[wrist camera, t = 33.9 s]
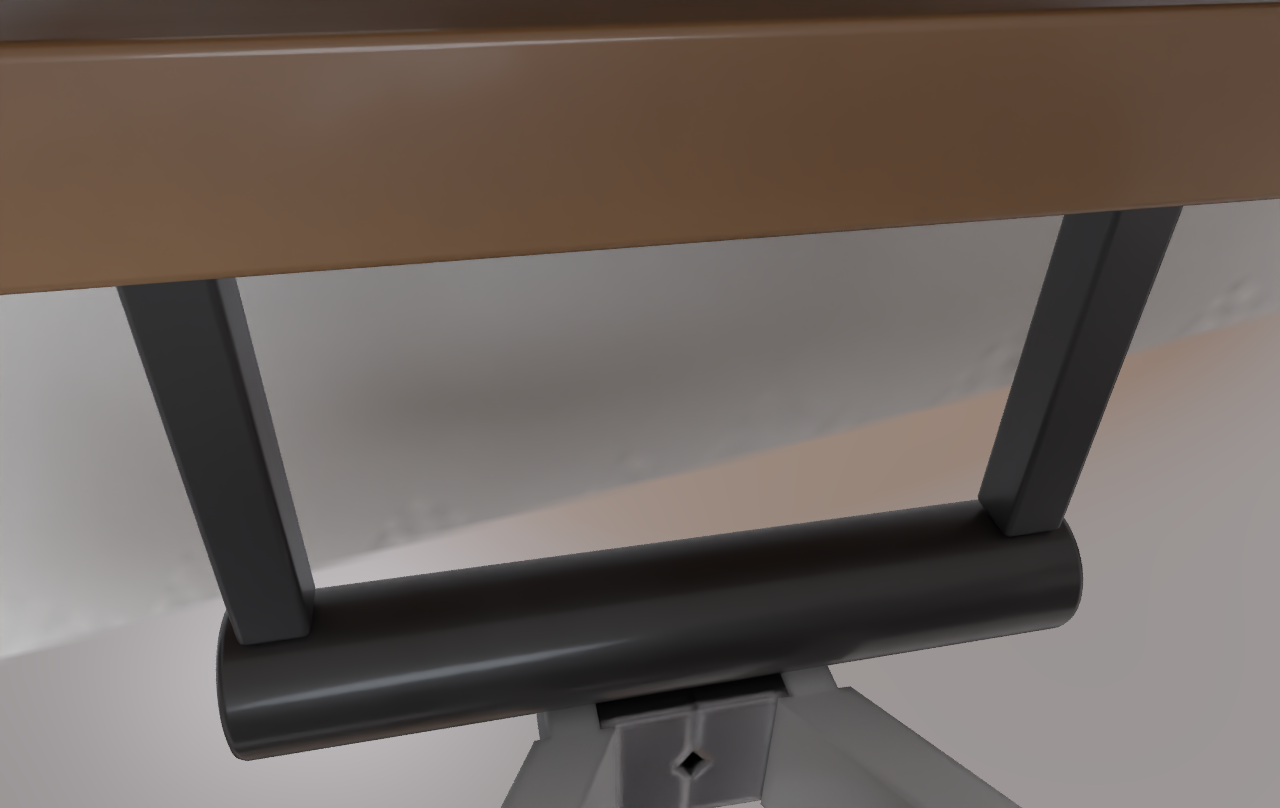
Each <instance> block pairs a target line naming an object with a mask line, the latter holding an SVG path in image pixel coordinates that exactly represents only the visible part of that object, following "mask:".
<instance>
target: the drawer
mask: <svg viewBox="0 0 1280 808" xmlns="http://www.w3.org/2000/svg"><path fill="white" fill-rule="evenodd" d="M1268 199H1280V0H0V295H7V294H21V293H34V292H47V291H61V290H74V289H87V288H100V287H114V286H116V288H117V291H118V294H119V297H120V300H121V303H122V306H123V309H124V312H125V315H126V318H127V320H128V323H129V326H130V329H131V332H132V335H133V338H134V341H135V344H136V347H137V350H138V353H139V355H140V358H141V361H142V364H143V367H144V370H145V373H146V376H147V379H148V382H149V385H150V388H151V390H152V393H153V396H154V399H155V402H156V405H157V408H158V411H159V414H160V417H161V420H162V423H163V426H164V428H165V431H166V434H167V437H168V440H169V443H170V446H171V449H172V452H173V455H174V458H175V461H176V463H177V466H178V469H179V472H180V475H181V478H182V481H183V484H184V487H185V490H186V493H187V496H188V498H189V501H190V504H191V507H192V510H193V513H194V516H195V519H196V522H197V525H198V528H199V531H200V534H201V536H202V539H203V542H204V545H205V548H206V551H207V554H208V557H209V560H210V563H211V566H212V569H213V571H214V574H215V577H216V580H217V583H218V586H219V589H220V592H221V595H222V598H223V601H224V604H225V606H226V612H225V614H224V617H223V620H222V624H221V628H220V632H219V638H218V645H217V658H216V682H217V683H216V684H217V697H218V706H219V713H220V719H221V723H222V727H223V731H224V734H225V737H226V740H227V743H228V745H229V747H230V749H231V751H232V753H233V754H234V756H235V757H236V758H238V759H241V760H245V761H249V760H256V759H262V758H268V757H274V756H281V755H287V754H292V753H299V752H304V751H310V750H317V749H323V748H329V747H335V746H341V745H347V744H353V743H359V742H366V741H372V740H378V739H384V738H390V737H396V736H402V735H408V734H414V733H420V732H426V731H432V730H438V729H444V728H450V727H457V726H463V725H469V724H475V723H481V722H487V721H493V720H499V719H505V718H510V717H517V716H523V715H529V714H535V713H541V712H548V711H554V710H560V709H566V708H572V707H578V706H584V705H590V704H596V703H602V702H608V701H614V700H620V699H626V698H632V697H639V696H645V695H651V694H657V693H663V692H669V691H675V690H681V689H687V688H693V687H699V686H705V685H711V684H717V683H723V682H730V681H736V680H742V679H748V678H754V677H760V676H766V675H772V674H778V673H784V672H790V671H796V670H802V669H808V668H814V667H821V666H827V665H833V664H839V663H844V662H851V661H857V660H863V659H869V658H875V657H881V656H887V655H893V654H899V653H905V652H911V651H918V650H923V649H930V648H936V647H942V646H948V645H954V644H960V643H966V642H972V641H978V640H984V639H990V638H996V637H1003V636H1009V635H1015V634H1021V633H1027V632H1033V631H1039V630H1045V629H1051V628H1056V627H1059V626H1061V625H1063V624H1065V623H1066V622H1067V621H1068V620H1070V619H1071V618H1072V616H1073V615H1074V614H1075V612H1076V611H1077V609H1078V606H1079V603H1080V600H1081V596H1082V589H1083V572H1082V563H1081V557H1080V553H1079V549H1078V546H1077V543H1076V540H1075V538H1074V536H1073V533H1072V531H1071V529H1070V527H1069V525H1068V523H1067V522H1066V520H1065V519H1064V515H1065V513H1066V510H1067V507H1068V505H1069V502H1070V500H1071V497H1072V494H1073V492H1074V489H1075V487H1076V484H1077V481H1078V479H1079V476H1080V473H1081V471H1082V468H1083V466H1084V463H1085V461H1086V458H1087V455H1088V453H1089V450H1090V448H1091V445H1092V442H1093V440H1094V437H1095V435H1096V432H1097V429H1098V427H1099V424H1100V421H1101V419H1102V416H1103V414H1104V411H1105V409H1106V406H1107V403H1108V400H1109V398H1110V395H1111V393H1112V390H1113V388H1114V385H1115V382H1116V380H1117V377H1118V375H1119V372H1120V369H1121V367H1122V364H1123V362H1124V359H1125V356H1126V354H1127V351H1128V349H1129V346H1130V343H1131V341H1132V338H1133V336H1134V333H1135V330H1136V328H1137V325H1138V323H1139V320H1140V317H1141V315H1142V312H1143V310H1144V307H1145V304H1146V302H1147V299H1148V296H1149V294H1150V291H1151V289H1152V286H1153V283H1154V281H1155V278H1156V276H1157V273H1158V270H1159V268H1160V265H1161V263H1162V260H1163V257H1164V255H1165V252H1166V250H1167V247H1168V244H1169V242H1170V239H1171V237H1172V234H1173V231H1174V229H1175V226H1176V224H1177V221H1178V218H1179V216H1180V213H1181V210H1182V208H1183V206H1188V205H1201V204H1215V203H1228V202H1241V201H1254V200H1268ZM1055 215H1064V217H1063V220H1062V223H1061V227H1060V230H1059V233H1058V236H1057V240H1056V243H1055V246H1054V249H1053V253H1052V256H1051V259H1050V262H1049V266H1048V269H1047V272H1046V276H1045V279H1044V282H1043V285H1042V289H1041V292H1040V295H1039V298H1038V302H1037V305H1036V308H1035V311H1034V315H1033V318H1032V321H1031V324H1030V328H1029V331H1028V334H1027V338H1026V341H1025V344H1024V347H1023V351H1022V354H1021V357H1020V360H1019V364H1018V367H1017V370H1016V373H1015V377H1014V380H1013V383H1012V386H1011V390H1010V393H1009V396H1008V400H1007V403H1006V406H1005V409H1004V413H1003V416H1002V419H1001V422H1000V426H999V429H998V432H997V436H996V439H995V442H994V445H993V449H992V452H991V455H990V458H989V462H988V465H987V468H986V472H985V475H984V478H983V481H982V485H981V488H980V491H979V494H978V500H971V501H964V502H956V503H948V504H942V505H933V506H926V507H919V508H911V509H904V510H897V511H889V512H882V513H874V514H867V515H860V516H852V517H844V518H838V519H830V520H822V521H816V522H807V523H800V524H792V525H786V526H778V527H771V528H763V529H756V530H748V531H741V532H733V533H726V534H718V535H711V536H703V537H696V538H689V539H681V540H674V541H666V542H659V543H651V544H644V545H637V546H629V547H622V548H614V549H607V550H600V551H593V552H585V553H577V554H570V555H562V556H555V557H547V558H540V559H533V560H525V561H518V562H511V563H503V564H496V565H488V566H481V567H473V568H466V569H458V570H451V571H444V572H437V573H429V574H421V575H414V576H406V577H400V578H392V579H384V580H377V581H370V582H362V583H355V584H347V585H340V586H333V587H325V588H317V589H315V585H314V582H313V578H312V574H311V570H310V566H309V562H308V558H307V554H306V550H305V546H304V543H303V539H302V535H301V531H300V527H299V523H298V519H297V515H296V511H295V508H294V504H293V500H292V496H291V492H290V488H289V484H288V480H287V476H286V473H285V469H284V465H283V461H282V457H281V453H280V449H279V445H278V441H277V438H276V434H275V430H274V426H273V422H272V418H271V414H270V410H269V407H268V403H267V399H266V395H265V391H264V387H263V383H262V379H261V375H260V372H259V368H258V364H257V360H256V356H255V352H254V348H253V344H252V340H251V337H250V333H249V329H248V325H247V321H246V317H245V313H244V309H243V305H242V302H241V298H240V294H239V290H238V286H237V282H236V278H235V277H246V276H260V275H273V274H286V273H299V272H313V271H326V270H339V269H352V268H366V267H379V266H392V265H405V264H419V263H432V262H445V261H458V260H472V259H485V258H498V257H512V256H525V255H538V254H551V253H565V252H578V251H591V250H604V249H618V248H631V247H644V246H657V245H671V244H684V243H697V242H711V241H724V240H737V239H750V238H764V237H777V236H790V235H803V234H817V233H830V232H843V231H856V230H870V229H883V228H896V227H910V226H923V225H936V224H949V223H963V222H976V221H989V220H1002V219H1016V218H1029V217H1042V216H1055Z"/></svg>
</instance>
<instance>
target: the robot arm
mask: <svg viewBox="0 0 1280 808" xmlns="http://www.w3.org/2000/svg"><path fill="white" fill-rule="evenodd" d="M537 722H538V729H539V735H540V740H538V741H534V743H533V745H532V748H531V749H530V751H529V753H528V755H527V757H526V759H525V761H524V763H523V765H522V767H521V769H520V771H519V773H518V775H517V777H516V779H515V781H514V783H513V785H512V787H511V789H510V791H509V793H508V795H507V797H506V799H505V801H504V803H503V804H502V806H501V808H715V807H721V806H727V805H733V804H739V803H746V802H752V801H758V800H761V805H762V806H763V807H764V808H1021V807H1020V806H1019V805H1017V804H1016V803H1014V802H1013V801H1011V800H1010V799H1008V798H1007V797H1006V796H1004V795H1003V794H1002V793H1000V792H999V791H997V790H996V789H995V788H993V787H992V786H990V785H989V784H987V783H986V782H985V781H983V780H982V779H980V778H979V777H977V776H976V775H975V774H973V773H972V772H970V771H969V770H968V769H966V768H965V767H963V766H962V765H961V764H959V763H958V762H956V761H955V760H954V759H952V758H951V757H949V756H948V755H946V754H945V753H944V752H942V751H941V750H939V749H938V748H936V747H935V746H934V745H932V744H931V743H929V742H928V741H927V740H925V739H924V738H922V737H921V736H920V735H918V734H917V733H915V732H914V731H913V730H911V729H910V728H908V727H907V726H905V725H904V724H903V723H901V722H900V721H898V720H897V719H895V718H894V717H893V716H891V715H890V714H888V713H887V712H886V711H884V710H883V709H881V708H880V707H878V706H877V705H875V704H874V703H873V702H871V701H870V700H869V699H867V698H866V697H864V696H863V695H862V694H860V693H859V692H857V691H856V690H855V689H853V688H852V687H844V688H838V687H837V685H836V683H835V681H834V679H833V677H832V674H831V672H830V670H829V668H828V666H821V667H814V668H808V669H802V670H796V671H790V672H784V673H778V674H772V675H766V676H760V677H754V678H748V679H742V680H736V681H730V682H723V683H717V684H711V685H705V686H699V687H693V688H687V689H681V690H675V691H669V692H663V693H657V694H651V695H645V696H639V697H632V698H626V699H620V700H614V701H608V702H602V703H596V704H590V705H584V706H578V707H572V708H566V709H560V710H554V711H548V712H541V713H537Z"/></svg>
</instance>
